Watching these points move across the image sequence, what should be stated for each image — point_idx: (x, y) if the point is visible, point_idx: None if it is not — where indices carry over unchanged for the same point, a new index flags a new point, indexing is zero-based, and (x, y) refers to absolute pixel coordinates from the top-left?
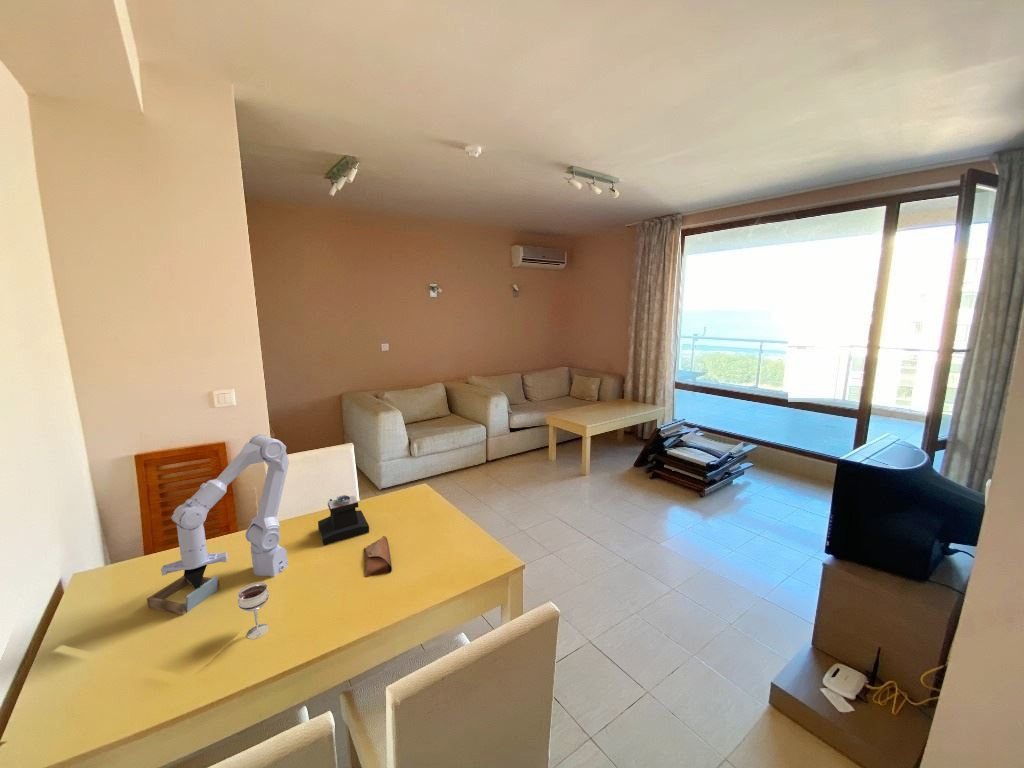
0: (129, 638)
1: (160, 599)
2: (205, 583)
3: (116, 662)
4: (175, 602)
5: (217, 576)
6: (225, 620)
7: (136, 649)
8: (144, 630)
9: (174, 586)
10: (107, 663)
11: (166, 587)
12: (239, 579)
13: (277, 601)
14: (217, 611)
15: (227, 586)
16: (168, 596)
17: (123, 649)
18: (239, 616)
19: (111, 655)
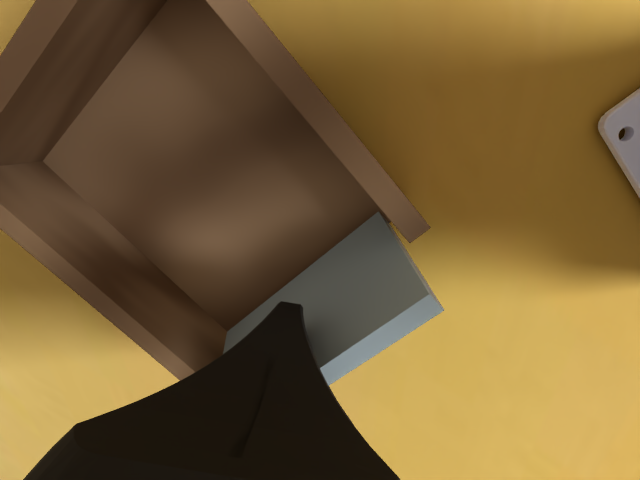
0: (37, 334)
1: (39, 242)
2: (334, 363)
3: (53, 439)
4: (155, 340)
5: (439, 309)
6: (401, 448)
7: (95, 414)
8: (80, 315)
9: (86, 35)
10: (24, 427)
11: (16, 67)
12: (542, 111)
13: (629, 460)
14: (375, 371)
15: (453, 158)
16: (92, 91)
17: (45, 388)
18: (456, 457)
19: (16, 395)
